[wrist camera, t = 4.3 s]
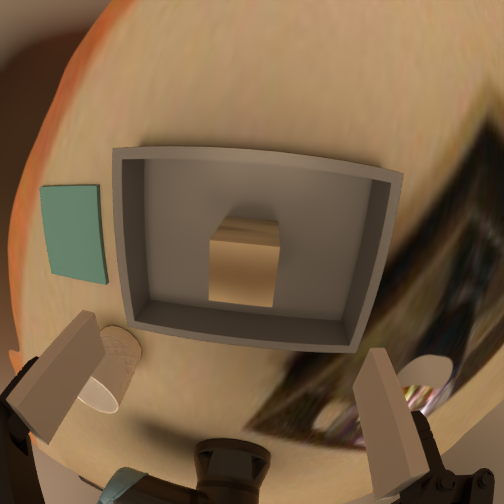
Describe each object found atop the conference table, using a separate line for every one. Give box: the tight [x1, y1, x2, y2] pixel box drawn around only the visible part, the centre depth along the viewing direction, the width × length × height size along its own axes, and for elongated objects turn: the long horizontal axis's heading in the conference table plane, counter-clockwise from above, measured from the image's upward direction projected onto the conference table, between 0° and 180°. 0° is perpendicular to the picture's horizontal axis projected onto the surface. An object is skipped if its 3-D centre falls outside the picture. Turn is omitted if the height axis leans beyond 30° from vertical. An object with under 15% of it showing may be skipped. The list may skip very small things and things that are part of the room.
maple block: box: [209, 216, 280, 307], centre depth 24 cm, size 5×5×7 cm
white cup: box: [78, 326, 142, 413], centre depth 30 cm, size 8×8×10 cm
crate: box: [112, 146, 403, 353], centre depth 25 cm, size 18×24×5 cm
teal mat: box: [40, 185, 109, 285], centre depth 28 cm, size 12×10×1 cm
